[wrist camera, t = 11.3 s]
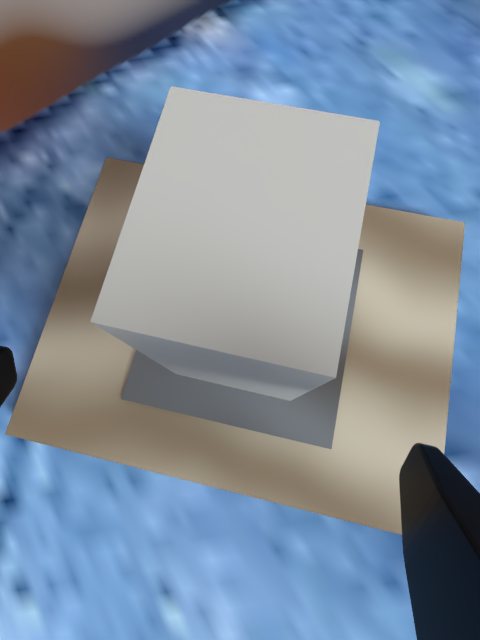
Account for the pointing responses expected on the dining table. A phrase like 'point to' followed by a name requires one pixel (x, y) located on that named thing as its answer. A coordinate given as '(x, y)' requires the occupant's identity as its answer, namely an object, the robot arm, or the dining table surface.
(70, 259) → the board
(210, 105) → the block
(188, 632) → the dining table surface
